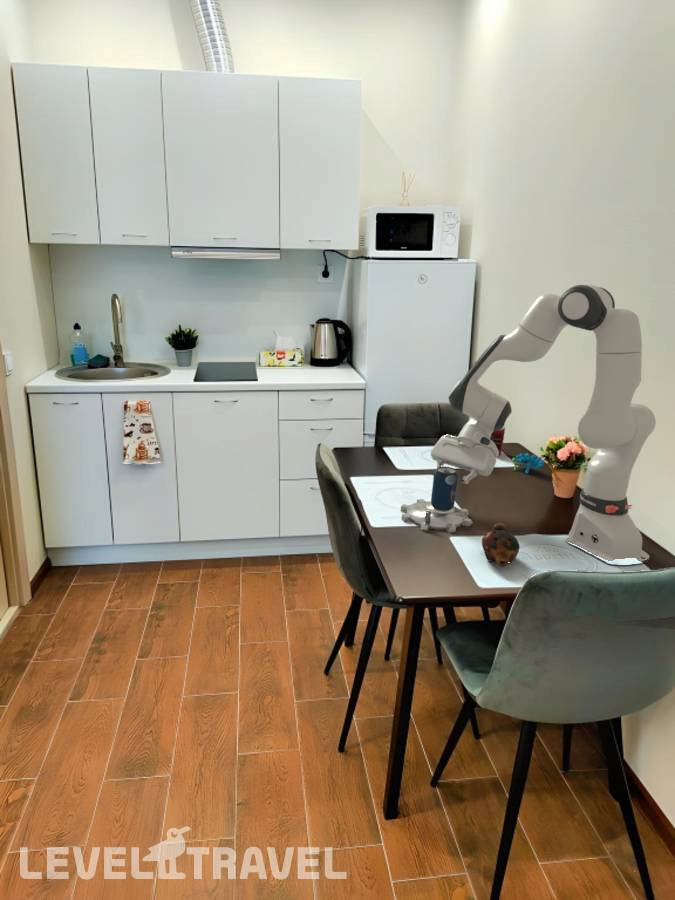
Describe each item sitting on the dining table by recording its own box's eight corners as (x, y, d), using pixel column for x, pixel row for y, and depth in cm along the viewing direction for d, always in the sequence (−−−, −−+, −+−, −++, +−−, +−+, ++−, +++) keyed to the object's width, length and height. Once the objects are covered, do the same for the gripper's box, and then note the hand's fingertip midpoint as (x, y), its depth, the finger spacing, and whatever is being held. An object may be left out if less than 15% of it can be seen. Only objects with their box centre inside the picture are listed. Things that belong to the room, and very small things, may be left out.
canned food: (489, 448, 269) (492, 421, 266) (505, 454, 263) (509, 426, 260) (476, 451, 264) (480, 424, 261) (493, 457, 259) (497, 429, 255)
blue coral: (546, 467, 246) (541, 452, 239) (543, 481, 244) (538, 467, 236) (516, 464, 252) (510, 450, 244) (512, 478, 249) (506, 464, 242)
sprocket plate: (484, 529, 195) (486, 514, 193) (418, 535, 188) (420, 520, 186) (449, 501, 213) (451, 487, 212) (388, 506, 206) (389, 492, 205)
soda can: (455, 512, 200) (460, 474, 197) (432, 511, 200) (436, 473, 196) (451, 503, 207) (456, 466, 203) (428, 502, 207) (432, 465, 203)
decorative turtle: (510, 547, 184) (516, 521, 181) (521, 577, 170) (528, 550, 167) (474, 542, 184) (480, 516, 181) (483, 573, 170) (489, 545, 167)
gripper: (440, 427, 212) (418, 463, 208) (498, 443, 199) (476, 482, 195) (446, 438, 217) (425, 474, 213) (504, 455, 204) (482, 493, 200)
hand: (450, 478), depth 204 cm, fingers open, 8 cm apart
